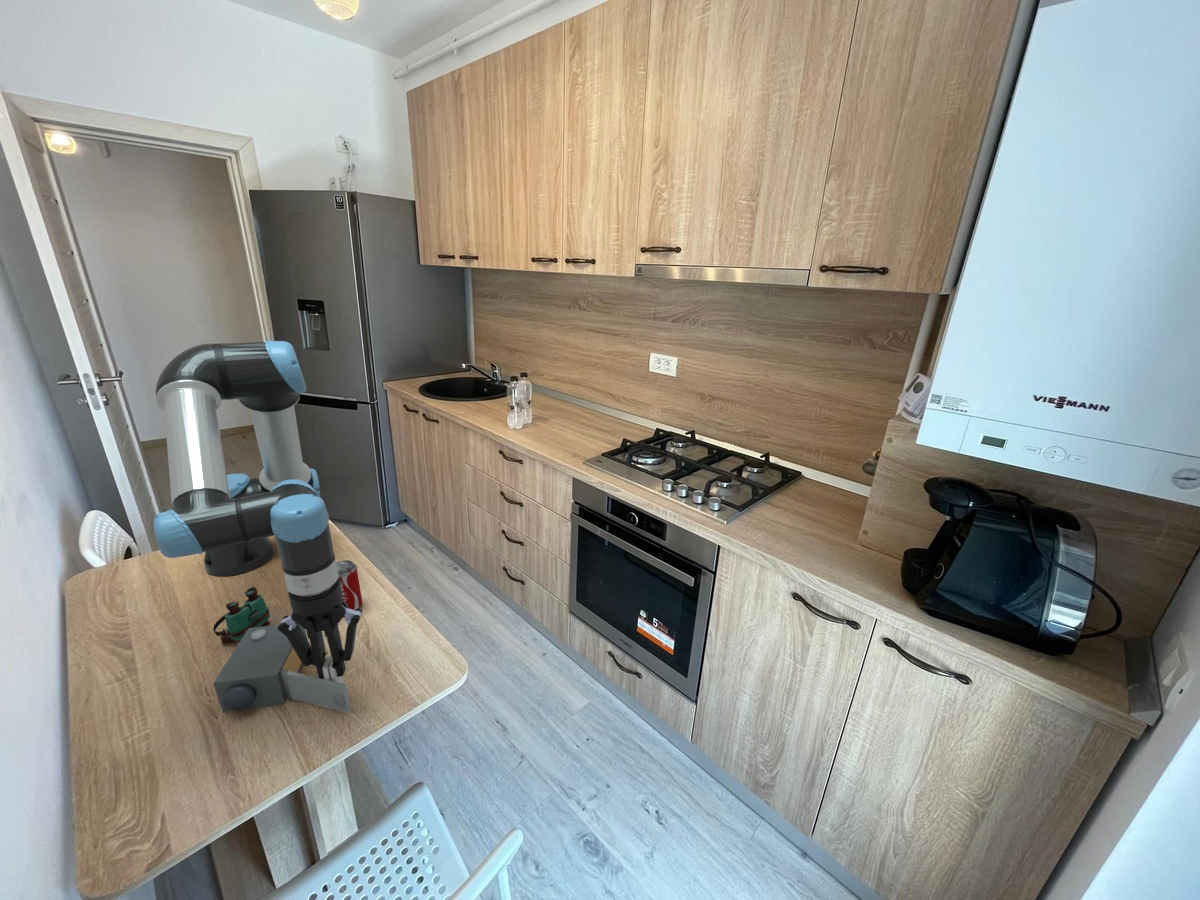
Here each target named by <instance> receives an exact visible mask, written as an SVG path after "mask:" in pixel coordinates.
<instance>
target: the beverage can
mask: <svg viewBox="0 0 1200 900" xmlns="http://www.w3.org/2000/svg"><path fill="white" fill-rule="evenodd" d="M336 565H337V570H338V575H339V576H338V578H339V581H340V586H341V591H342V598H343V601H344V602H345V603H346V604H347V608H349V609H352V610H356V609H357V608H360V609H362V606H363V597H362V591H361V590H362V589H361V586H360V579H359V572H358V567H357V565H356V564H355V563H354V562H353V561H352V560H348V559H345V560H340V561H336Z"/></svg>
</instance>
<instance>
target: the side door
mask: <svg viewBox="0 0 1200 900" xmlns="http://www.w3.org/2000/svg"><path fill="white" fill-rule="evenodd" d="M281 674H282V678H283V682H284V685H285V689H286V693H287V700H288V701H292V700H296V701H298V702H303V703H307V704H310V705H315V706H319V707H322V708H323V707H324V708H326V709H331V710H334V711H339V712H343V713H350V711H351V710H352V707H351V702H350V697H349V690H348V685H347V684H346V683H344V682H343V683H338V682H334V681H330V680H326V679H322V678H319V677H317V676H313V675H308V674H305V673H300V672H299V673H296V672H292V671H288V670H287V669H283V670H282V671H281Z"/></svg>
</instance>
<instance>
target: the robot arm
mask: <svg viewBox="0 0 1200 900" xmlns="http://www.w3.org/2000/svg"><path fill="white" fill-rule="evenodd" d="M301 369H302V368H301V367H300V363H299V361H298V357H297V353H296V351H295V348H294V346H293V345H292V344H291V343H290V342H288V341H284V340H275V341H274V340H270V339H269V340H265V341H257V342H256V341H253V342H251V341H250V342H227V343H226V342H224V343H223V342H222V343H214V342H213V343H203V344H198V345H194V346H192V347H190V348H187V349H185V350H184V351H182V352H180V353H179V354H178V355H176V356H175V357H174V358H173V359H171V360H170V361H169V362H168V363H167V365H166V366H165V367H164V369H163V370H162V371H161V373H160V375H159V377H158V379H157V383H156V386H155V399H156V404H157V406H158V407H159V408H160V409H161V410H162V411H163V412H164V423H165V434H166V448H167V449H166V450H167V460H168V463H167V464H168V471H169V473H168V474H169V487H170V498H171V506H172V508H171V509H168V510H166V511H163V512H159V513H157V514H156V515H155V517H154V519H153V532H154V537H155V541H156V544H157V547H158V549H159V551H160V553H161V554H162V555H163V557H166V558H168V559H176V558H181V557H186V556H188V557H189V556H193V555H194V556H195V555H201V554H203V553H204V557H203V563H204V569H205V570H206V573H208V574H209V575H210V576H211V575H212V576H216V577H228V576H229V577H230V576H236V575H240V574H245V573H247V572H251V571H253V570H255V569H257V568H259V567H262V566H263V565H265V564H266V563H268V562H269V561H270V560H271V559H272V558H273V557H274V555H275V549H274V544H273V542H272V541H271V540H270V538H269V537H274V539H275V543H276V547H277V550H278V554H279V557H280V558H279V559H280V562H281V567H282V572H283V576H284V581H285V586H286V589H287V591H288V592H287V593H288V599H289V603H290V607H291V611H292V612H291V614H290V615H284V616H283V617H282V619H281V621H280V623H279V624H278V625H279V626H278V630H279V631H280V632H282V633H283V634H284V635H285V636H286V637H287V638H288V640H289V642H290V643H291V645H292V647H293V649H294V650H295V652H296V654H297V655H298V657H299V659H300V660H301V662H302V666H304V667H310V666H311V665H312V666H314V667H315V668H316V672H317V676H318V677H317V678H322V679H326V680H330V681H334V682H338V683H343V684H344V680H343V677H344V675H345V672H346V667H347V666H346V662H350V661H351V659H352V656H353V652H354V650H355V642H356V636H357V628H358V624H359V622H360V619H361V617H362V614H363V609H362V608H357V609H356V610H352V609H349V608H347V604H346V603H345V602H344V601H343V598H342V591H341V586H340V581H339V578H338V576H339V575H338V570H337V565H336V562H337V559H336V556H335V551H334V548H333V547H334V546H333V540H332V533H331V527H330V522H329V521H330V517H329V514H328V509H327V508H326V504H325V500H323V499H322V498H321V490H320V482H319V481H320V480H319V476H318V473H317V471H316V469H314V468H310V467H309V466H308V464H306V463H305V462H304V460H303V455H302V448H301V443H300V435H299V430H298V429H299V428H298V424H297V423H298V422H297V416H296V411H295V406H296V405H297V403H298V402H299V401H300V396H301V394H303V393H305V392H307V390H308V388H307V385H306V382H305V378H304V375H303V373H302V372H303V371H302V370H301ZM225 400H226V401H228V400H239V403H240V404H241V406H243V407H244V408H246V409H247V410H249V412H250V416H251V421H252V424H253V429H254V432H255V437H256V442H257V445H258V448H259V449H258V450H259V454H260V458H261V461H262V463H261V464H262V466H263V469H262V470H260V473H259V476H258V477H256V478H255V477H254V478H250V477H249V476H248V475H247V474H245V473H230V474H227V470H226V464H225V456H224V451H223V444H222V438H221V431H220V430H221V429H220V425H219V419H218V412H217V411H218V409H219V408H220V406H221V404H222V401H225ZM344 617H345V622H346V624H347V627H346V633H345V641H344V646H343V642H342V638H341V633H340V628H339V623H340V622H341V620H342V619H343V618H344ZM298 624H299V625H300V626H302V627H303V628H304V629H305V631H306V635H307V638H306V637H305V635H304V633H303V631H302V630H301V628H300V626H299V625H298ZM323 632H324V635H323ZM324 636H325V638H326V640H327V644H328V648H329V652H330V653H329V654H330V656H327V655H328V651H326V647H325V646H326V645H325V641H324Z"/></svg>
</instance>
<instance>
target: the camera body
mask: <svg viewBox="0 0 1200 900" xmlns="http://www.w3.org/2000/svg"><path fill="white" fill-rule="evenodd" d="M271 625H272V624H271ZM298 625H299V624H298ZM278 626H279V624H276V625H275V624H274V625H272V626H263V627H254V628H248V630H247V631H246V633H245V634H244V636H243V638H242V639H241V641H240V642H239V644H238V643H237V646H236V647H235V648H234V650H233V651H232V653H231V654H230V656H229V658H228V659H227V661H226V662H225V664H224V666H223V667H222V669H221V671H220V672H219V674H218V675H217V677H216V678H215V680H214V681H213V686H214V689H215V693H216V696H217V699H218V703H219V706H220V708H221V711H222V714H223V713H224V714H225V713H229V712H239V711H245V710H250V709H252V710H253V709H258V708H264V707H265V708H266V707H272V706H279V705H280V706H281V705H285V704H286V702H287V700H288V697H287V693H286V689H285V685H284V682H283V678H282V674H281V671H282V670H283V669H287V670H288V671H292V672H296V673H300V671H301V669H302V666H303V664H302V662H301V660H300V659H299V657H298V655H297V654H296V652H295V650H294V649H293V647H292V645H291V643H290V642H289V640H288V638H287V637H286V636H285V635H284V634H283V633H282V632H280V631H279V630H278ZM299 626H300V625H299ZM300 628H301V630H302V631H303V633H304V635H305V637H306V638H307V639H308V635H307V630H306V629H304V628H303V627H302V626H300Z"/></svg>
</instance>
